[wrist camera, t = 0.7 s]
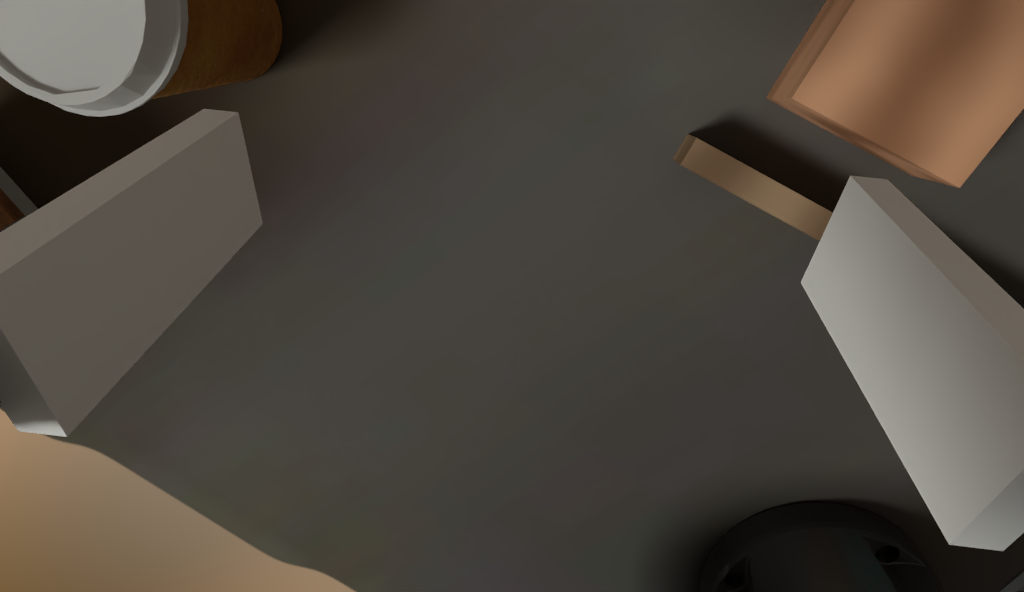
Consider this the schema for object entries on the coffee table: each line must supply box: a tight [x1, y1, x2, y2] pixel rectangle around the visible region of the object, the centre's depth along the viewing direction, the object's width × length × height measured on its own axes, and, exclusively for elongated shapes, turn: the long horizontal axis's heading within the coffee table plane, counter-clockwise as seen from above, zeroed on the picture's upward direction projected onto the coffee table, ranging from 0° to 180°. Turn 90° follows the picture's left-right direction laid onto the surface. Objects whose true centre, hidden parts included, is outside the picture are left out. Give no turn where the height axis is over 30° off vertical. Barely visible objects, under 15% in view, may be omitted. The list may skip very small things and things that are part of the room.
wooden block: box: [766, 0, 1024, 188], centre depth 27 cm, size 9×9×4 cm
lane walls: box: [673, 134, 833, 241], centre depth 27 cm, size 18×19×3 cm
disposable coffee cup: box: [0, 0, 282, 117], centre depth 27 cm, size 10×10×12 cm
